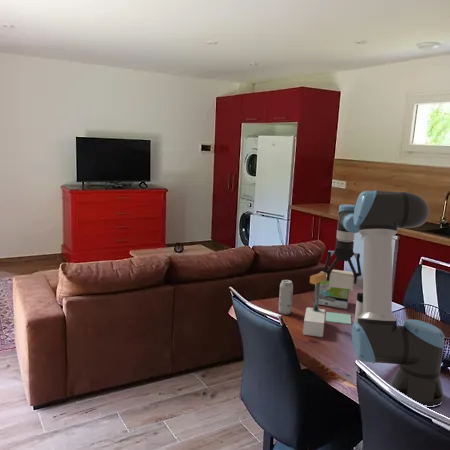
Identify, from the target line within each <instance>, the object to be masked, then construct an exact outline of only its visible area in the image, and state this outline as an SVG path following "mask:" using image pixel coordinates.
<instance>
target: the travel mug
mask: <svg viewBox="0 0 450 450" xmlns="http://www.w3.org/2000/svg"><path fill="white" fill-rule="evenodd" d="M355 302H356V303H355V313H354V321H353V322H354V323H358V316H359V315H361V314H362V312H363V292H357V294H356V301H355ZM354 323H353V324H354Z"/></svg>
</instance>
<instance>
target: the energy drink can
mask: <svg viewBox="0 0 450 450" xmlns="http://www.w3.org/2000/svg"><path fill="white" fill-rule="evenodd" d="M293 294H294V284H293V281H292V280H289V279H282V280H281V282H280V284H279V295H278V296H279V297H278V312H279V314H281V315H285V316H286V315H287V316H288V315H290V314H291V313H292V312H293V310H292V309H293V297H294V296H293Z"/></svg>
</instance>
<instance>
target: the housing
mask: <svg viewBox="0 0 450 450" xmlns="http://www.w3.org/2000/svg"><path fill="white" fill-rule="evenodd" d="M313 308H314V307H309V306H308V307H306V309H305V315H304V320H303V329H302V335H305V336H311V337H319V338H320V337H321V338H324V329H325V320H326V309H325V308H318V311H315V310H313Z"/></svg>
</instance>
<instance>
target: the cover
mask: <svg viewBox="0 0 450 450" xmlns="http://www.w3.org/2000/svg"><path fill="white" fill-rule="evenodd" d="M353 276H354V274H353V272H352V270H351V271H348V270H339V269H333V270H332V271H331V287H335V288H344V289H349V290H351V289H352V280H353Z"/></svg>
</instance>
